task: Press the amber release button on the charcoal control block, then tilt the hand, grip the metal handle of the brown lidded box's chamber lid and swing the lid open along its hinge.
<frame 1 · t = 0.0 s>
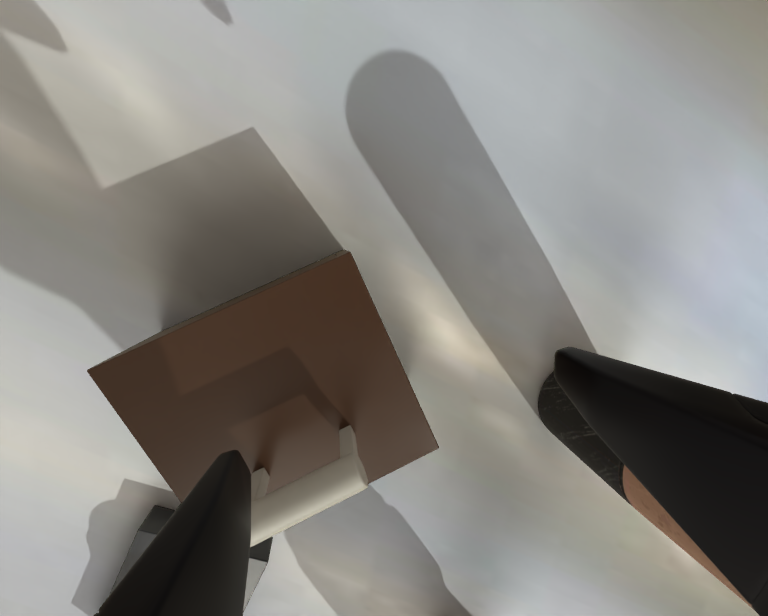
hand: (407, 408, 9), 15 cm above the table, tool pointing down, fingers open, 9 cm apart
chamber lid: (276, 432, 16), point 9 cm above the table, hinge at 0.0°
travel mug: (574, 397, 29), on the table
brown lidded box: (292, 361, 24), on the table
control block: (188, 580, 26), on the table
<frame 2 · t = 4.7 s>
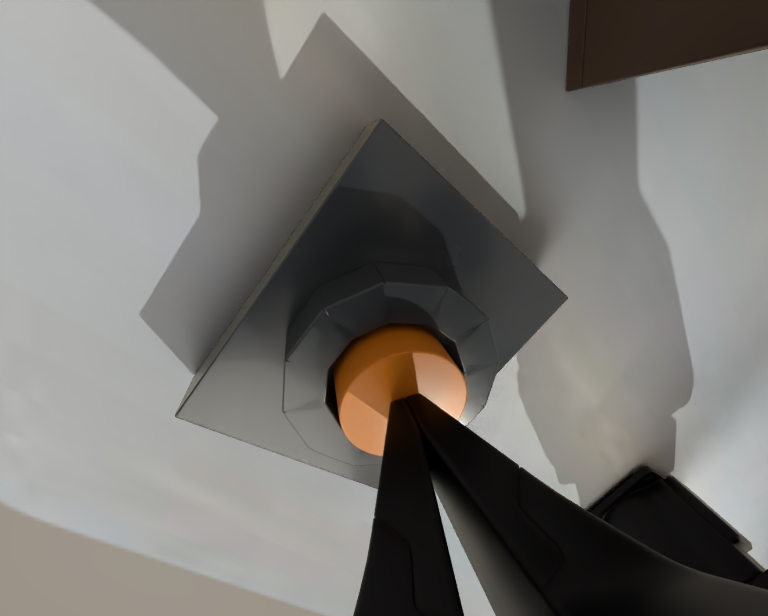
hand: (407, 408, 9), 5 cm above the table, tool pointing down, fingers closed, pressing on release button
control block: (372, 324, 13), on the table
release button: (397, 387, 10), point 4 cm above the table, slide at -0.4 cm, touching gripper
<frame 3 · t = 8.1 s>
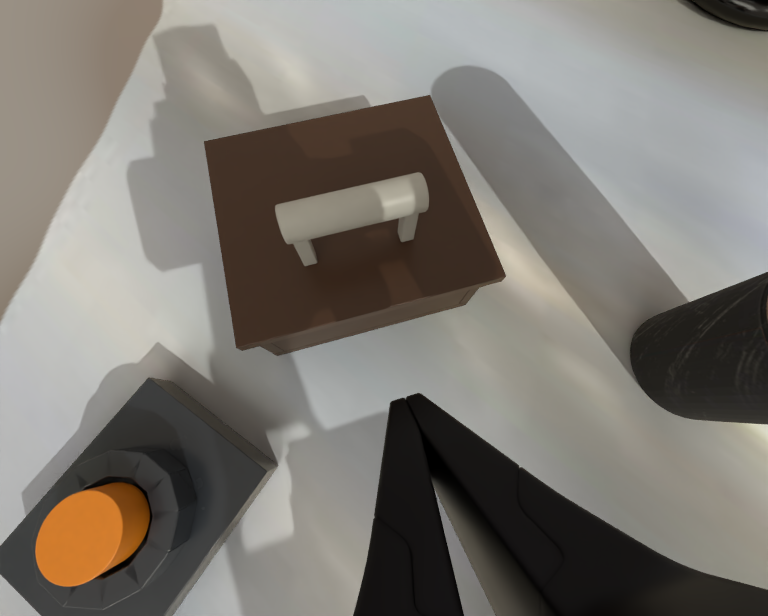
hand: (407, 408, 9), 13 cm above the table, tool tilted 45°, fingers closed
chamber lid: (342, 182, 16), point 9 cm above the table, hinge at 0.0°
travel mug: (679, 364, 23), on the table
brown lidded box: (353, 256, 25), on the table
control block: (158, 503, 20), on the table
release button: (96, 529, 15), point 5 cm above the table, slide at 0.1 cm
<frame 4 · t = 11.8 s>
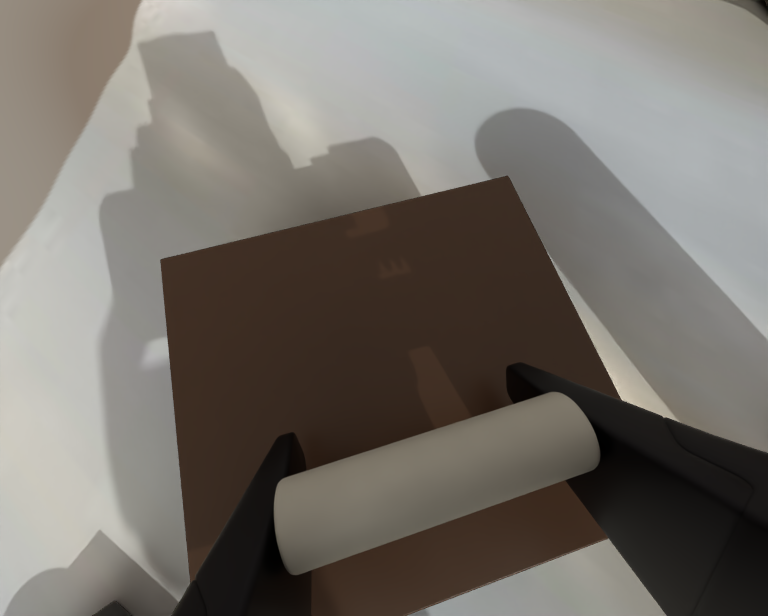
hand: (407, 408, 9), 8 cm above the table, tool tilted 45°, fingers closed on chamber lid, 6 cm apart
chamber lid: (394, 362, 9), point 9 cm above the table, hinge at 0.0°, touching gripper
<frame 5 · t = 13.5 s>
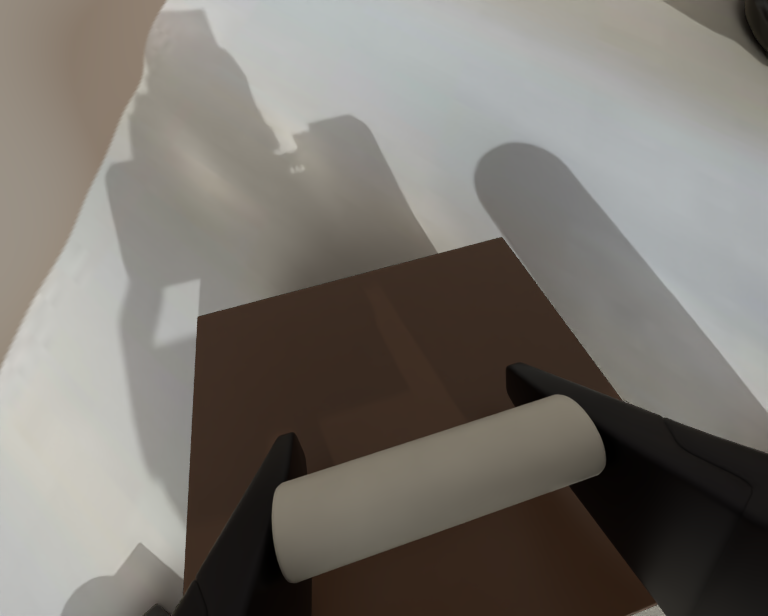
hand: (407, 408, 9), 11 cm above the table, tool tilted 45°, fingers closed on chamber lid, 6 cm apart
chamber lid: (399, 389, 9), point 11 cm above the table, hinge at 19.5°, touching gripper
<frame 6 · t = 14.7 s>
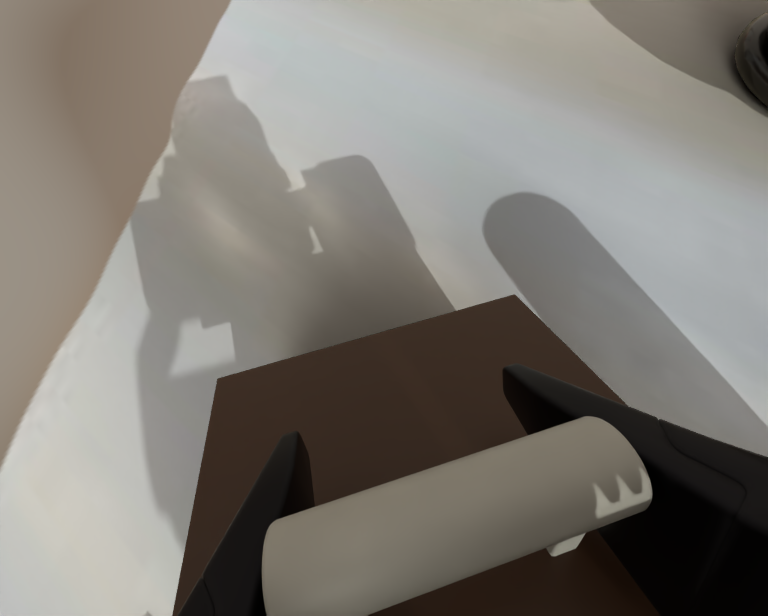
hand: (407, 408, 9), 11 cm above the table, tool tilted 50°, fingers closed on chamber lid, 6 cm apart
chamber lid: (414, 434, 9), point 12 cm above the table, hinge at 30.9°, touching gripper
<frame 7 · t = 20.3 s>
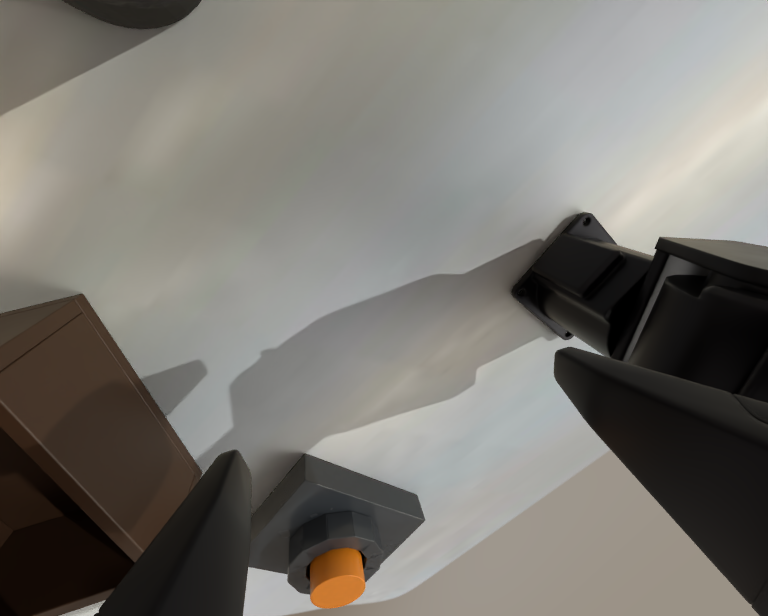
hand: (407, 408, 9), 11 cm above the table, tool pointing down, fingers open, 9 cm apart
brown lidded box: (46, 426, 19), on the table
control block: (332, 512, 27), on the table
release button: (337, 576, 23), point 5 cm above the table, slide at 0.1 cm
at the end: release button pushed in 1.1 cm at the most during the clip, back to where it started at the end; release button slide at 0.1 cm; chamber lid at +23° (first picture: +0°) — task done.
